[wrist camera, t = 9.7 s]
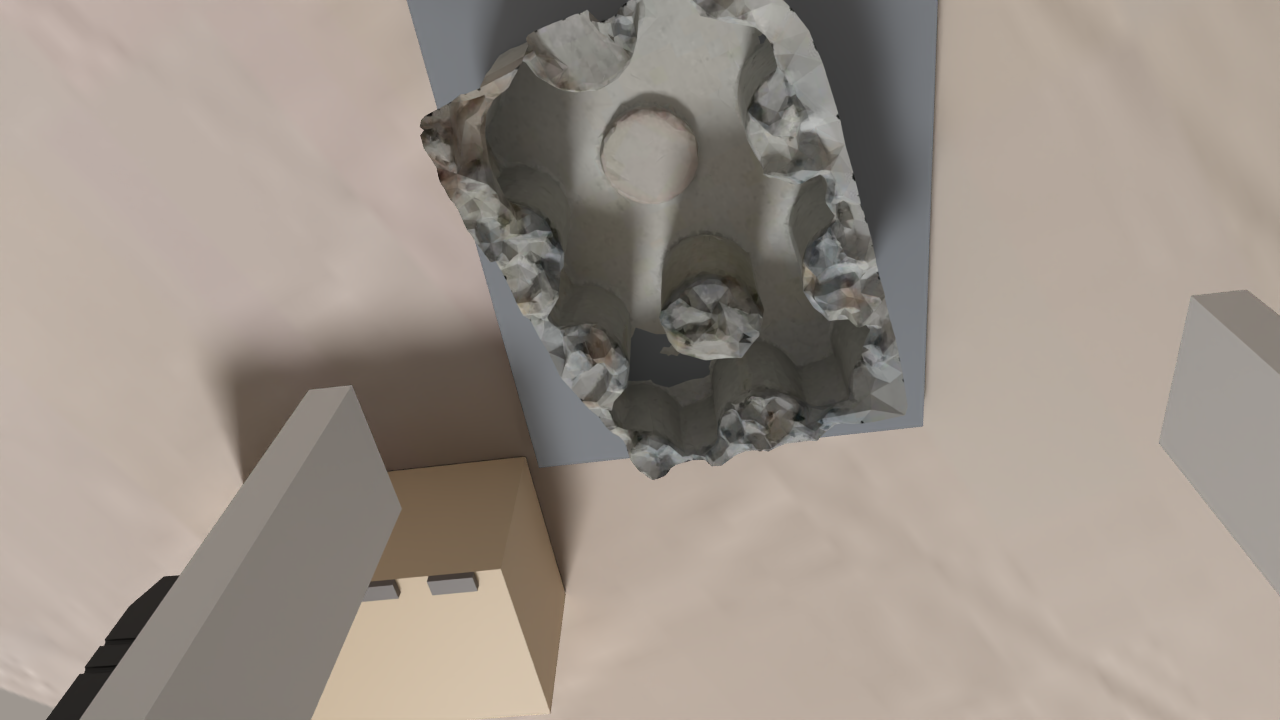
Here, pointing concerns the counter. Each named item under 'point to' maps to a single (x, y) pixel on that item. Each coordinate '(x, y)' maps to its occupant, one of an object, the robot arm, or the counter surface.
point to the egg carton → (679, 223)
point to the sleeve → (455, 604)
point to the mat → (877, 148)
